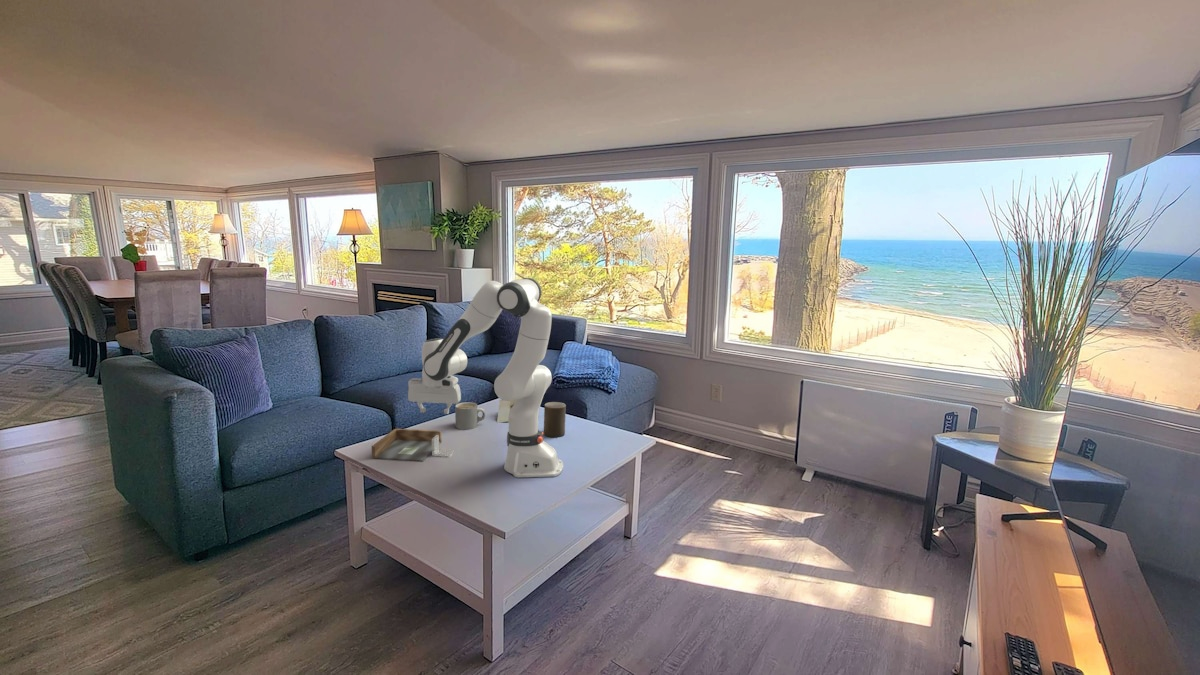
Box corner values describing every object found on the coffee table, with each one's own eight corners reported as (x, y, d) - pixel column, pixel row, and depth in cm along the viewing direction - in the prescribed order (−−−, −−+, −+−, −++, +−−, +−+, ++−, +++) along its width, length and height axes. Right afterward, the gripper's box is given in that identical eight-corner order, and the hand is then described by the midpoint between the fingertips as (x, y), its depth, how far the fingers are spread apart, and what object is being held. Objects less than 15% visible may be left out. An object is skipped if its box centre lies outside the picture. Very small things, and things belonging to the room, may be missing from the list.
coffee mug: (453, 429, 228) (453, 408, 226) (458, 422, 238) (457, 402, 236) (483, 430, 229) (483, 409, 227) (486, 422, 239) (486, 402, 237)
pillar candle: (556, 439, 221) (557, 406, 219) (539, 434, 226) (540, 402, 224) (569, 433, 229) (570, 401, 227) (552, 428, 234) (553, 397, 232)
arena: (441, 442, 213) (441, 430, 212) (422, 461, 193) (422, 449, 192) (395, 439, 214) (395, 428, 213) (372, 458, 194) (371, 446, 193)
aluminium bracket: (432, 456, 198) (431, 439, 197) (436, 451, 203) (436, 434, 202) (449, 457, 198) (449, 440, 197) (453, 452, 203) (453, 435, 202)
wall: (534, 427, 247) (533, 401, 256) (531, 418, 240) (530, 392, 249) (500, 431, 246) (500, 405, 256) (496, 422, 239) (497, 396, 249)
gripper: (404, 379, 193) (405, 414, 195) (456, 382, 192) (457, 416, 195) (411, 375, 199) (412, 409, 202) (462, 378, 198) (462, 411, 201)
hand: (434, 412), depth 198 cm, fingers open, 8 cm apart
